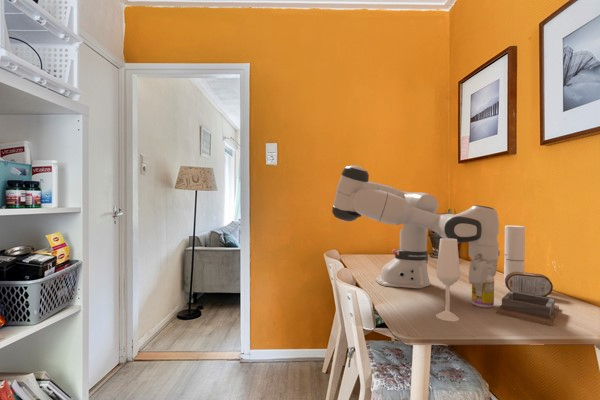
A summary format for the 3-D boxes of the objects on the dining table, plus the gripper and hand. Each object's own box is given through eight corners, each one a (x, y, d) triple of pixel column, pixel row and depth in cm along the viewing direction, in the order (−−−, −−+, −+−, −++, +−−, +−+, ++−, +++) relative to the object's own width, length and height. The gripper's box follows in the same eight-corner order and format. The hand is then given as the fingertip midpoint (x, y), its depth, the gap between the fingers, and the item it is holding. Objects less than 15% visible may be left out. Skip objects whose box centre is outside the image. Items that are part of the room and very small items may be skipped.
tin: (551, 296, 121) (551, 274, 121) (553, 299, 118) (554, 276, 118) (504, 291, 127) (504, 270, 127) (505, 293, 124) (505, 272, 124)
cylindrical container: (517, 282, 141) (518, 225, 140) (527, 287, 133) (528, 227, 133) (500, 282, 141) (501, 225, 141) (509, 286, 134) (510, 226, 134)
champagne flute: (432, 312, 102) (433, 237, 102) (453, 313, 102) (454, 237, 102) (440, 320, 96) (441, 240, 95) (463, 321, 95) (464, 240, 95)
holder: (551, 325, 93) (551, 311, 93) (495, 313, 103) (496, 300, 102) (558, 308, 107) (559, 296, 107) (509, 299, 117) (509, 288, 117)
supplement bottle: (467, 302, 113) (468, 265, 113) (485, 301, 114) (485, 265, 114) (479, 308, 107) (480, 270, 107) (498, 308, 107) (499, 269, 107)
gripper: (485, 257, 100) (484, 302, 101) (500, 250, 115) (500, 289, 115) (463, 255, 105) (463, 297, 105) (481, 248, 120) (480, 285, 120)
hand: (482, 292), depth 110 cm, fingers closed on supplement bottle, 7 cm apart
